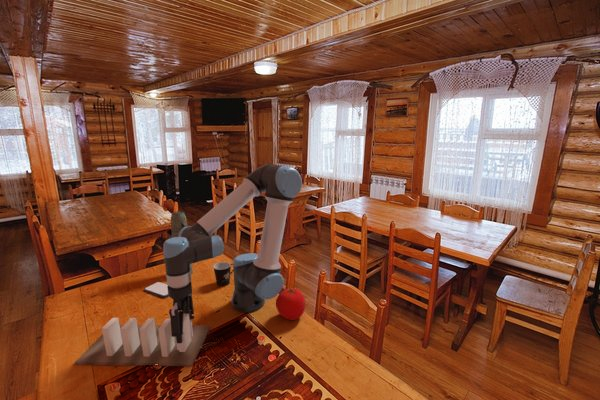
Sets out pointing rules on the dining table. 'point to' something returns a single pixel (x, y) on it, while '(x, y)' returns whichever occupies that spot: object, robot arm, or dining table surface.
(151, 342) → the domino
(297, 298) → the tomato
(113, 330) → the domino
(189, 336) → the loose domino
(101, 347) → the walnut board
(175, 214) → the thermos
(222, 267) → the coffee mug
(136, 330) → the domino
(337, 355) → the dining table surface
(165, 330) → the domino
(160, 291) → the phone case
